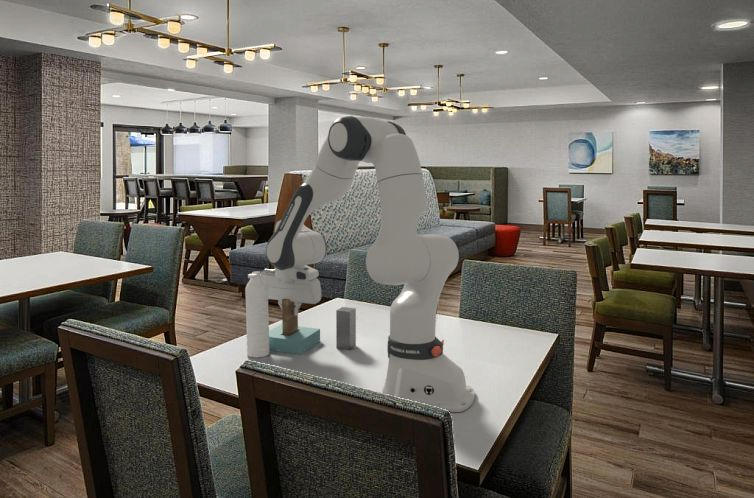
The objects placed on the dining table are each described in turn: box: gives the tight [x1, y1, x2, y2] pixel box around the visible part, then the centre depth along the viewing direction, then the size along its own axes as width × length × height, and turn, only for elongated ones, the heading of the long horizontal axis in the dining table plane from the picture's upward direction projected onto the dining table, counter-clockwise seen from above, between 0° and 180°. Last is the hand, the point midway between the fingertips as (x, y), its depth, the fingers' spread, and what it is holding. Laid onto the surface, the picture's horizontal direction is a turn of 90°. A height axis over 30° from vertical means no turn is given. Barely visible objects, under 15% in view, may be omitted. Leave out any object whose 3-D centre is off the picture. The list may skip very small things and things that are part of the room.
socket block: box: [269, 323, 321, 355], centre depth 168 cm, size 14×13×4 cm
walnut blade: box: [281, 299, 299, 336], centre depth 167 cm, size 2×6×12 cm, turn 159°
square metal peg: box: [335, 306, 357, 351], centre depth 166 cm, size 4×4×12 cm
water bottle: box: [244, 270, 271, 359], centre depth 156 cm, size 9×6×25 cm
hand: (290, 314), depth 167 cm, fingers closed on walnut blade, 2 cm apart
